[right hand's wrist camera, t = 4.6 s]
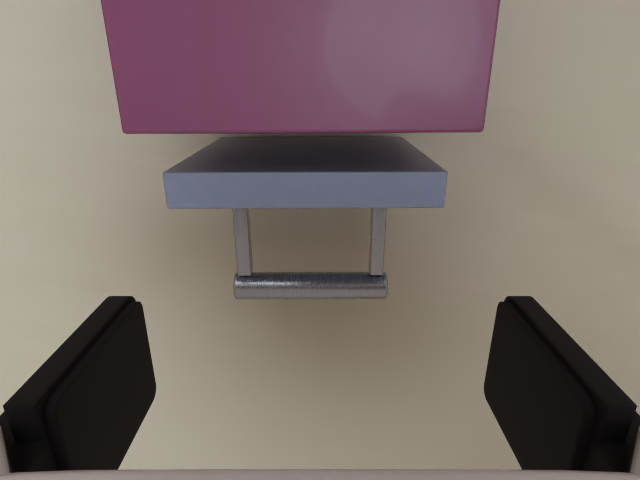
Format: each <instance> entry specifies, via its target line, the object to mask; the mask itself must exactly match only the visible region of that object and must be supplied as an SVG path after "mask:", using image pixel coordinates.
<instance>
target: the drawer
mask: <svg viewBox="0 0 640 480" xmlns="http://www.w3.org/2000/svg"><path fill="white" fill-rule="evenodd" d="M163 179H164V186H165V194H166V201H167V207H168V208H169V209H206V208H233V218H234V230H235V243H236V255H237V267H238V273H236V274H235V277H234V295H235V298H236V299H385V298H386V297H387V291H388V282H387V275H386V273H385V272H383V265H384V246H385V227H386V208H443V207H444V202H445V192H446V183H447V171H446V170H444V169H443V168H442V167H440V166H439V165H438V164H436V163H435V162H434V161H432V160H431V159H430V158H428V157H427V156H426V155H425V154H423V153H422V152H421V151H419V150H418V149H417V148H415V147H414V146H413V145H411V144H410V143H409V142H407V141H406V140H405V139H403V138H402V137H240V138H220V139H218V140H216V141H215V142H213V143H212V144H210V145H208V146H207V147H205V148H203V149H202V150H200V151H198V152H197V153H195V154H193V155H192V156H190V157H188V158H187V159H185V160H183V161H182V162H180V163H178V164H177V165H175V166H173V167H172V168H170V169H168V170H167V171H165V172H163ZM249 208H371V227H370V252H369V272H252V271H253V264H252V249H251V235H250V220H249Z"/></svg>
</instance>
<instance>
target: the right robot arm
mask: <svg viewBox="0 0 640 480" xmlns="http://www.w3.org/2000/svg"><path fill="white" fill-rule="evenodd" d="M155 393H156V383H155V377H154V371H153V365H152V359H151V353H150V347H149V341H148V336H147V330H146V324H145V318H144V312H143V307H142V304H141V302H136V300H135V299H134V297H132V296H109V297H108V298H106V299H105V300H104V301H103V302H102V303H101V305H100V306H99V307H98V308H97V309H96V310H95V311H94V312H93V313H92V314H91V315H90V316H89V317H88V318H87V319H86V320H85V321H84V322H83V323H82V324H81V325H80V326H79V327H78V328H77V329H76V330H75V332H74V333H73V334H72V335H71V336H70V337H69V338H68V339H67V340H66V341H65V342H64V343H63V344H62V345H61V346H60V347H59V348H58V349H57V350H56V351H55V352H54V353H53V354H52V355H51V356H50V358H49V359H48V360H47V361H46V362H45V363H44V364H43V365H42V366H41V367H40V368H39V369H38V370H37V371H36V372H35V373H34V374H33V375H32V376H31V377H30V378H29V379H28V380H27V381H26V382H25V383H24V385H23V386H22V387H21V388H20V389H19V390H18V391H17V392H16V393H15V394H14V395H13V396H12V397H11V398H10V399H9V400H8V401H7V402H6V403H5V404H4V405H3V408H4V412H3V413H2V414H1V415H0V480H640V415H639V414H638V413H637V412H636V408H637V405H636V404H635V403H634V402H633V401H632V400H631V399H630V398H629V397H628V396H627V395H626V394H625V393H624V392H623V391H622V390H621V389H620V388H619V387H618V386H617V385H616V383H615V382H614V381H613V380H612V379H611V378H610V377H609V376H608V375H607V374H606V373H605V372H604V371H603V370H602V369H601V368H600V367H599V366H598V365H597V364H596V363H595V362H594V361H593V360H592V359H591V358H590V356H589V355H588V354H587V353H586V352H585V351H584V350H583V349H582V348H581V347H580V346H579V345H578V344H577V343H576V342H575V341H574V340H573V339H572V338H571V337H570V336H569V335H568V334H567V333H566V332H565V330H564V329H563V328H562V327H561V326H560V325H559V324H558V323H557V322H556V321H555V320H554V319H553V318H552V317H551V316H550V315H549V314H548V313H547V312H546V311H545V310H544V309H543V308H542V307H541V306H540V305H539V303H538V302H537V301H536V300H535V299H534V298H532V297H531V296H508V297H506V299H505V300H504V302H499V304H498V307H497V312H496V318H495V324H494V330H493V336H492V341H491V347H490V353H489V359H488V365H487V371H486V377H485V383H484V393H485V397H486V400H487V402H488V404H489V406H490V408H491V410H492V412H493V414H494V416H495V418H496V419H497V421H498V423H499V425H500V427H501V429H502V431H503V433H504V435H505V437H506V439H507V441H508V443H509V445H510V447H511V449H512V451H513V453H514V454H515V456H516V458H517V460H518V462H519V464H520V466H521V468H522V470H460V469H180V470H118V468H119V466H120V464H121V462H122V460H123V458H124V456H125V454H126V453H127V451H128V449H129V447H130V445H131V443H132V441H133V439H134V437H135V435H136V433H137V431H138V429H139V427H140V425H141V423H142V421H143V419H144V418H145V416H146V414H147V412H148V410H149V408H150V406H151V404H152V402H153V400H154V397H155Z"/></svg>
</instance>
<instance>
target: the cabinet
mask: <svg viewBox="0 0 640 480" xmlns="http://www.w3.org/2000/svg"><path fill="white" fill-rule="evenodd" d="M101 4H102V10H103V16H104V22H105V28H106V34H107V40H108V46H109V52H110V58H111V64H112V70H113V76H114V82H115V88H116V94H117V100H118V106H119V112H120V118H121V124H122V130H123V132H124V133H126V134H190V133H416V132H481V131H483V129H484V121H485V114H486V106H487V98H488V91H489V83H490V75H491V67H492V60H493V52H494V44H495V36H496V29H497V21H498V13H499V5H500V0H101Z"/></svg>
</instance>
